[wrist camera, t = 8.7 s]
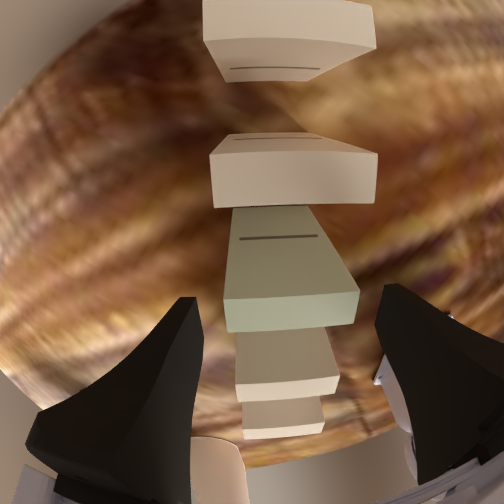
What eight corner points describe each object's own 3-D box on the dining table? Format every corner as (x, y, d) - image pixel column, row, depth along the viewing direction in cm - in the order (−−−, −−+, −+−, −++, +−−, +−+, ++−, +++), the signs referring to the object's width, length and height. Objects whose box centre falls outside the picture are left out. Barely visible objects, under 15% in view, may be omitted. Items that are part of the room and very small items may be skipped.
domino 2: (308, 156, 17) (374, 204, 8) (230, 159, 17) (214, 208, 8) (308, 132, 16) (377, 153, 8) (228, 134, 16) (209, 154, 8)
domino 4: (303, 287, 22) (334, 393, 13) (239, 291, 22) (238, 401, 13) (304, 269, 21) (340, 375, 12) (238, 273, 21) (235, 384, 12)
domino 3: (306, 227, 19) (353, 323, 11) (234, 230, 19) (227, 332, 11) (307, 205, 19) (360, 290, 10) (233, 207, 19) (223, 299, 10)
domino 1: (306, 82, 15) (376, 49, 6) (225, 83, 15) (203, 41, 6) (305, 58, 14) (371, 5, 5) (224, 59, 14) (202, -4, 5)
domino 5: (299, 333, 24) (320, 432, 15) (243, 337, 24) (244, 439, 15) (301, 320, 23) (324, 421, 14) (242, 323, 23) (242, 429, 14)
